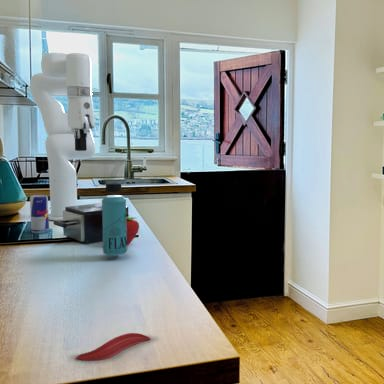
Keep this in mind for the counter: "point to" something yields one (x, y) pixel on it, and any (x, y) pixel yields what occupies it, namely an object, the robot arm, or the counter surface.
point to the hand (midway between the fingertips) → (80, 150)
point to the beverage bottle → (114, 221)
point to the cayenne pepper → (113, 346)
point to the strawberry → (131, 228)
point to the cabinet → (91, 221)
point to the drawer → (72, 225)
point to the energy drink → (39, 214)
